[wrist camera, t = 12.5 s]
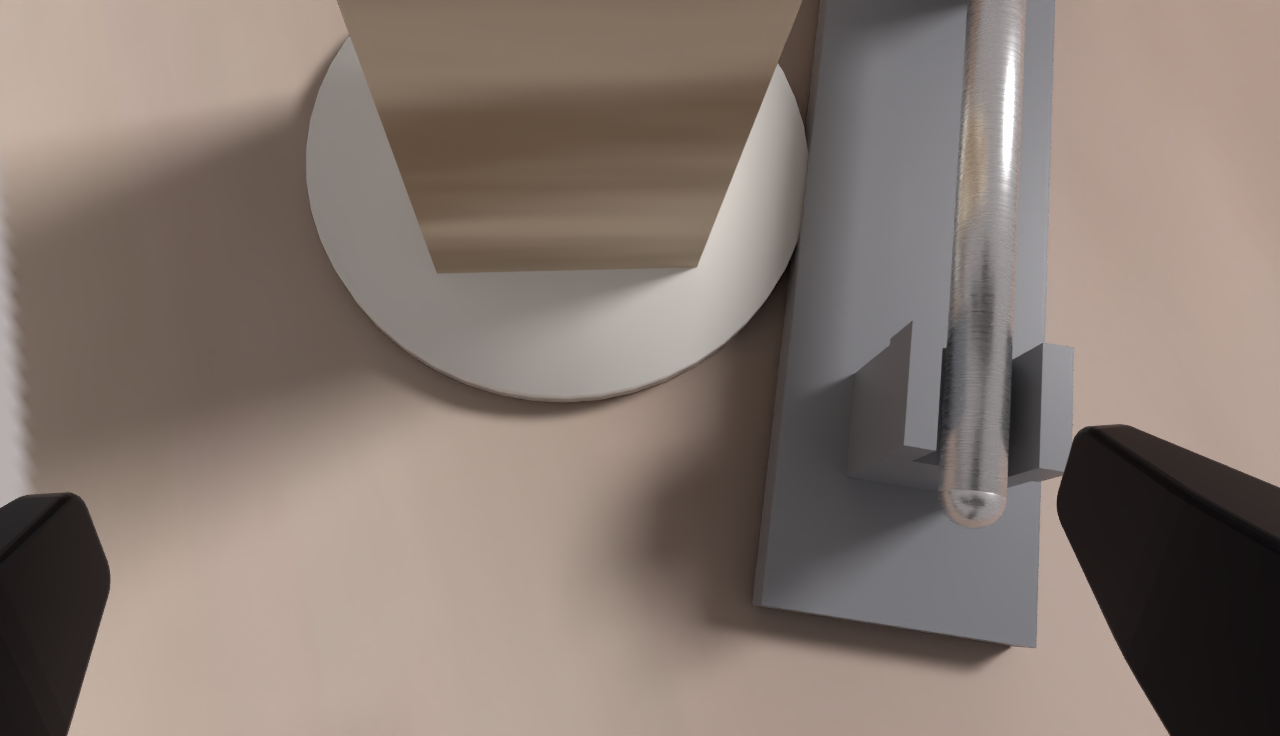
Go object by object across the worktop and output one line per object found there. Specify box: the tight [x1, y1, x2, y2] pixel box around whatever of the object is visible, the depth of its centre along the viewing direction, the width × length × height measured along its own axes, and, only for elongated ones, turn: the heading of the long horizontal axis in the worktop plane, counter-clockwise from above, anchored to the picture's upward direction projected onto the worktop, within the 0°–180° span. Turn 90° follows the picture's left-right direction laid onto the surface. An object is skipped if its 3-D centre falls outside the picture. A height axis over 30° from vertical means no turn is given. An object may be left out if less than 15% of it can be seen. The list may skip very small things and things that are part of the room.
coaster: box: [306, 36, 808, 403], centre depth 18 cm, size 10×10×1 cm
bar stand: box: [752, 0, 1074, 648], centre depth 17 cm, size 18×5×4 cm, turn 171°
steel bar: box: [938, 0, 1026, 529], centre depth 16 cm, size 15×1×1 cm, turn 171°
